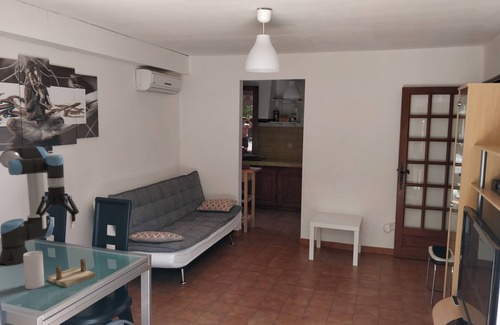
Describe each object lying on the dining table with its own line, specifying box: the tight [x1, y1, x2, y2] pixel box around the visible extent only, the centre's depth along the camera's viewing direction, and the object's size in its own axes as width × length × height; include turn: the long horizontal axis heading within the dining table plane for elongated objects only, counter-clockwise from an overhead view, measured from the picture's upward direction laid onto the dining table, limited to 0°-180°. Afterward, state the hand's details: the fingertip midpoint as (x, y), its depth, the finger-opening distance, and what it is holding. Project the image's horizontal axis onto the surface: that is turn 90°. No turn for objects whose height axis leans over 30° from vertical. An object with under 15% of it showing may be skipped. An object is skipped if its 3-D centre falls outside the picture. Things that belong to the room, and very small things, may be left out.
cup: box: [23, 250, 45, 290], centre depth 197 cm, size 8×8×16 cm
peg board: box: [47, 258, 96, 288], centre depth 206 cm, size 16×16×8 cm
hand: (58, 228), depth 205 cm, fingers open, 13 cm apart
